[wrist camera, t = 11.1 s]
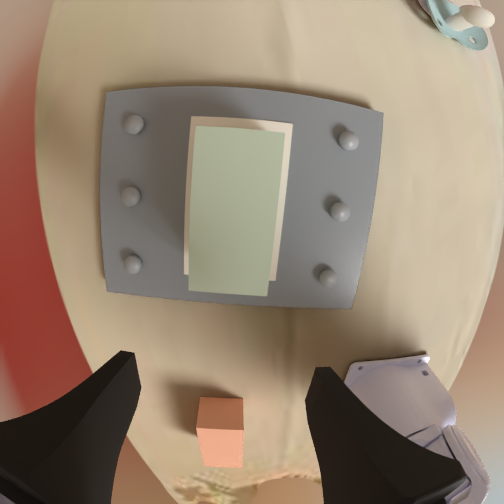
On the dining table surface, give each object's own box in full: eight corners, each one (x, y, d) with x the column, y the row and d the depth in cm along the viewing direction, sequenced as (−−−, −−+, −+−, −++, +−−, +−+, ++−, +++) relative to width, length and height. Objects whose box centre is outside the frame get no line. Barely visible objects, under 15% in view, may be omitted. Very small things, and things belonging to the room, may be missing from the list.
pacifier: (405, -16, 12) (419, 32, 13) (439, -46, 6) (464, 6, 7) (462, 12, 12) (476, 59, 14) (499, -6, 6) (520, 47, 8)
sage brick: (274, 139, 15) (285, 132, 12) (261, 267, 18) (266, 296, 14) (206, 134, 15) (195, 126, 11) (199, 262, 18) (188, 290, 14)
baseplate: (376, 114, 16) (387, 111, 14) (347, 302, 20) (354, 313, 19) (113, 94, 15) (102, 90, 13) (112, 285, 19) (103, 295, 18)
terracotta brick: (243, 397, 24) (243, 429, 20) (241, 439, 26) (242, 467, 22) (200, 395, 23) (195, 427, 20) (206, 438, 26) (203, 465, 22)
